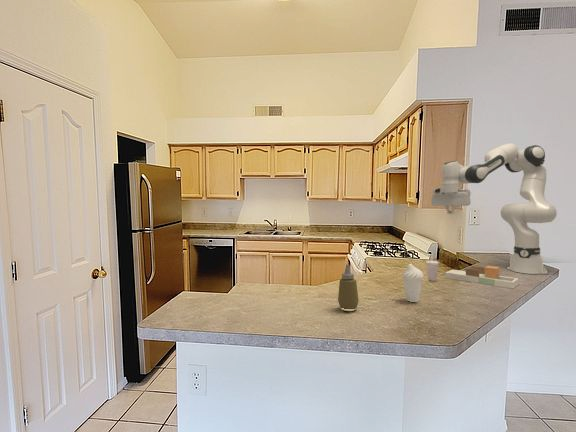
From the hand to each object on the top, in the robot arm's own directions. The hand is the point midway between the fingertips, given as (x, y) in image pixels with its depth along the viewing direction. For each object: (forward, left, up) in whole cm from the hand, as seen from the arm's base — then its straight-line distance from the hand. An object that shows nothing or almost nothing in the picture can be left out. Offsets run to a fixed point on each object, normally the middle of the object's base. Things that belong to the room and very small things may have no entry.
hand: (450, 213), depth 180 cm
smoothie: (+24, 0, -34) cm, 42 cm away
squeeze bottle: (+91, -4, -34) cm, 97 cm away
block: (+10, +24, -31) cm, 40 cm away
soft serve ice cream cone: (+64, +9, -34) cm, 73 cm away
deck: (+10, +18, -34) cm, 40 cm away
